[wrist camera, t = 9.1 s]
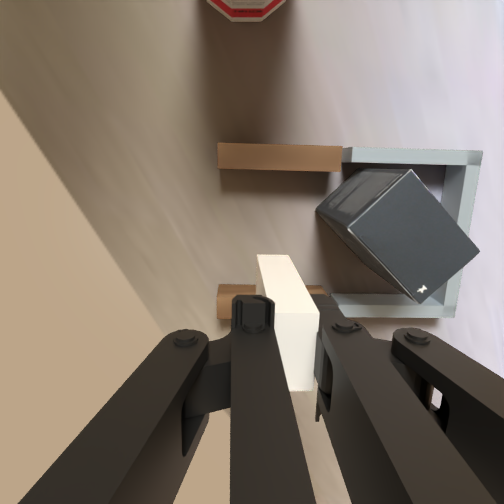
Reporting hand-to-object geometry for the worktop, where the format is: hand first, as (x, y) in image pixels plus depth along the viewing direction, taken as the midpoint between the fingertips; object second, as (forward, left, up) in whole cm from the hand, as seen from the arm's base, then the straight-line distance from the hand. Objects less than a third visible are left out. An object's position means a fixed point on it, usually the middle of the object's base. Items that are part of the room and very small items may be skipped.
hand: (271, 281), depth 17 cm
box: (-1, +10, -17) cm, 20 cm away
